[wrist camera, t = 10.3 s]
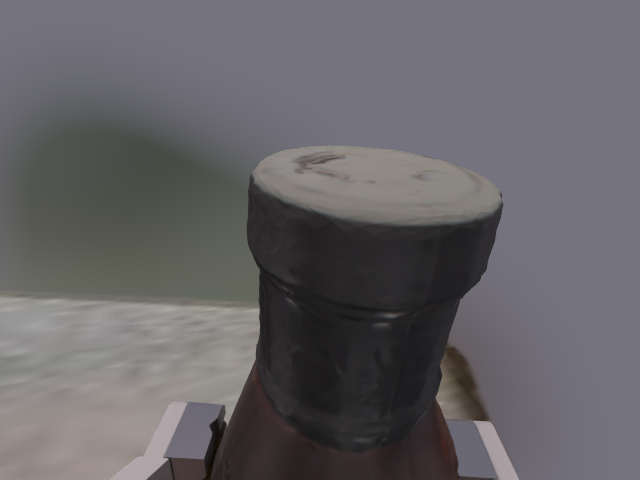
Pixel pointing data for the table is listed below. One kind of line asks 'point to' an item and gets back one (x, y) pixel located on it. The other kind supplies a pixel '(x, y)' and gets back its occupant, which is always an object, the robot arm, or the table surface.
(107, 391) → the table surface
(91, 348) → the table surface
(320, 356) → the sauce bottle
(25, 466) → the table surface
